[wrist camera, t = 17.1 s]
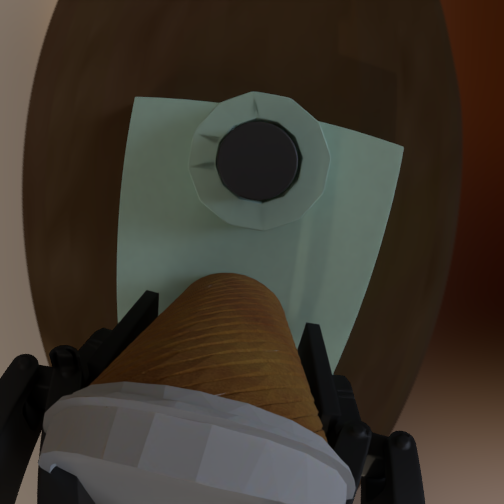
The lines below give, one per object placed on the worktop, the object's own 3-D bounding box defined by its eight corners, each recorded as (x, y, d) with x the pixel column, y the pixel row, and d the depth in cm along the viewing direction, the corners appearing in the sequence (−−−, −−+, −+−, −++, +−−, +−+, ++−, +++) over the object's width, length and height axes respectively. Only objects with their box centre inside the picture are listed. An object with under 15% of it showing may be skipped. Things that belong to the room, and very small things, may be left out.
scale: (312, 402, 20) (316, 432, 17) (128, 365, 19) (112, 390, 17) (396, 139, 14) (422, 137, 11) (145, 93, 14) (120, 81, 11)
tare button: (286, 201, 13) (289, 207, 11) (218, 188, 13) (210, 192, 11) (300, 134, 12) (305, 129, 10) (230, 121, 12) (224, 115, 10)
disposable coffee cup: (120, 289, 16) (-12, 435, 5) (264, 208, 14) (242, 399, 3) (207, 399, 18) (169, 556, 7) (339, 350, 17) (388, 537, 5)
